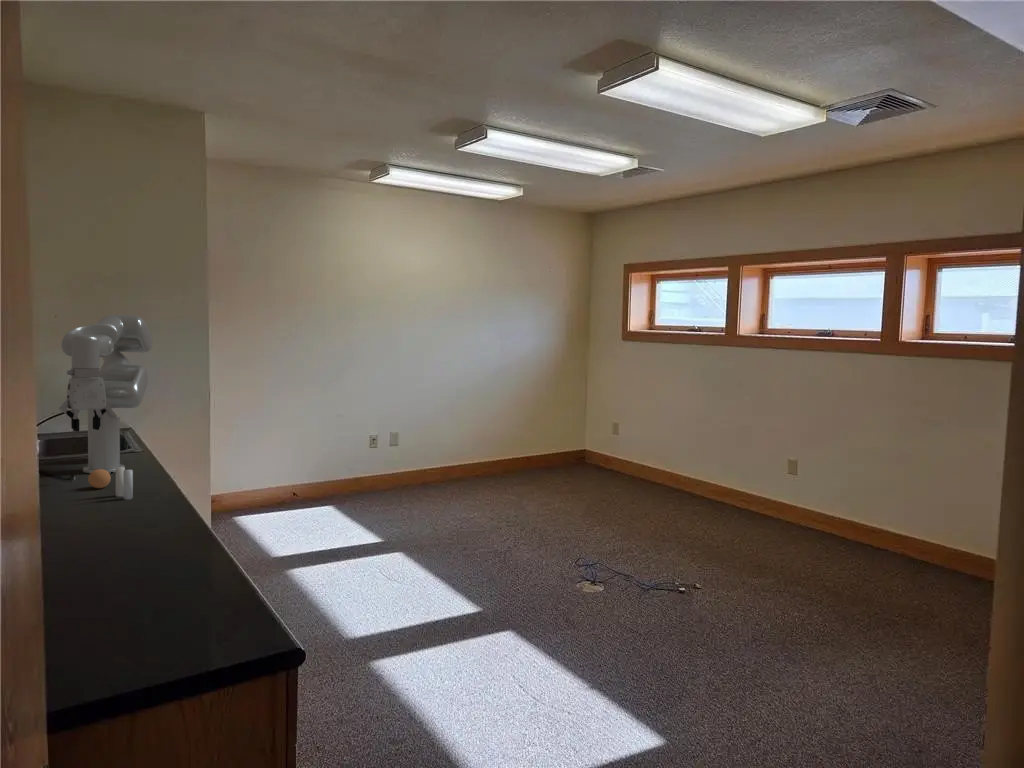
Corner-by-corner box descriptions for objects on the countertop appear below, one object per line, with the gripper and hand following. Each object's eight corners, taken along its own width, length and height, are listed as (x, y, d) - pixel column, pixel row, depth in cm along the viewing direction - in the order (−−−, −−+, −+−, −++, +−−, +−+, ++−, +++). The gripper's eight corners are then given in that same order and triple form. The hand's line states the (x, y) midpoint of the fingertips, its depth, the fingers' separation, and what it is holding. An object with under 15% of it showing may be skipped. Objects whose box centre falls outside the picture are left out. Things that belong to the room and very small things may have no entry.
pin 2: (122, 498, 198) (122, 470, 198) (132, 497, 200) (131, 469, 199) (124, 499, 197) (124, 471, 196) (133, 498, 198) (133, 470, 197)
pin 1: (115, 495, 201) (115, 467, 201) (124, 494, 203) (124, 466, 202) (116, 497, 199) (116, 469, 199) (125, 496, 201) (125, 468, 200)
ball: (87, 487, 210) (86, 468, 209) (109, 485, 213) (109, 466, 213) (89, 491, 205) (89, 471, 205) (112, 488, 209) (112, 470, 208)
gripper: (60, 375, 203) (60, 434, 204) (119, 374, 217) (119, 429, 218) (50, 373, 208) (50, 431, 209) (109, 372, 221) (109, 426, 223)
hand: (86, 429), depth 214 cm, fingers open, 5 cm apart
